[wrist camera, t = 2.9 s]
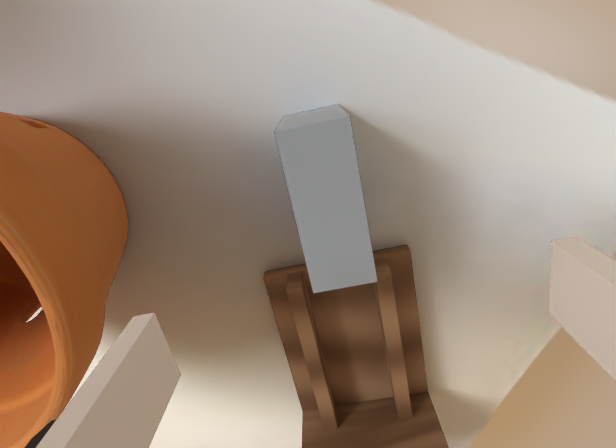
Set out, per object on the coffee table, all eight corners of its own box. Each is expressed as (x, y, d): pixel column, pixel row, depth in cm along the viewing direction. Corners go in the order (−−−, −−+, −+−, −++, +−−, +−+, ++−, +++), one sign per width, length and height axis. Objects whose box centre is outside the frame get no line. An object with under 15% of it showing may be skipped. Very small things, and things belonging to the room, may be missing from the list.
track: (264, 271, 32) (243, 366, 21) (407, 245, 31) (455, 330, 20) (307, 417, 38) (306, 544, 28) (426, 398, 37) (471, 523, 27)
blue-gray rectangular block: (283, 116, 27) (274, 132, 20) (338, 103, 27) (349, 115, 19) (312, 240, 31) (313, 293, 23) (360, 230, 30) (377, 281, 23)
